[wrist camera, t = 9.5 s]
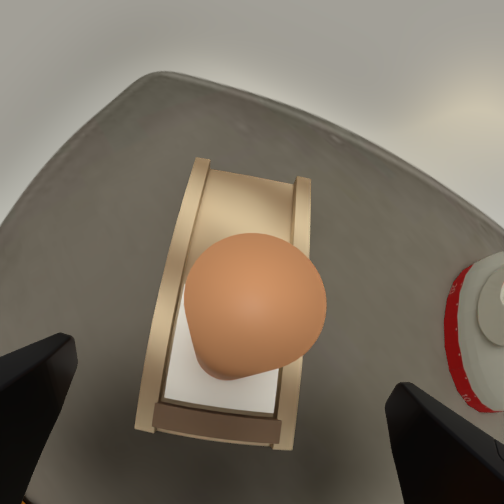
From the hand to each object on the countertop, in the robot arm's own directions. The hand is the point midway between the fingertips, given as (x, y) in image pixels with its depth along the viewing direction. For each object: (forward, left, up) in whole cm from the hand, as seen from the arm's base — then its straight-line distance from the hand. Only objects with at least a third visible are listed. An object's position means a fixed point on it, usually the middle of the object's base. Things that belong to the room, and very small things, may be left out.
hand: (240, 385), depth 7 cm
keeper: (+1, +1, -8) cm, 9 cm away
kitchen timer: (+18, -15, -10) cm, 26 cm away
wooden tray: (+4, +3, -10) cm, 11 cm away
